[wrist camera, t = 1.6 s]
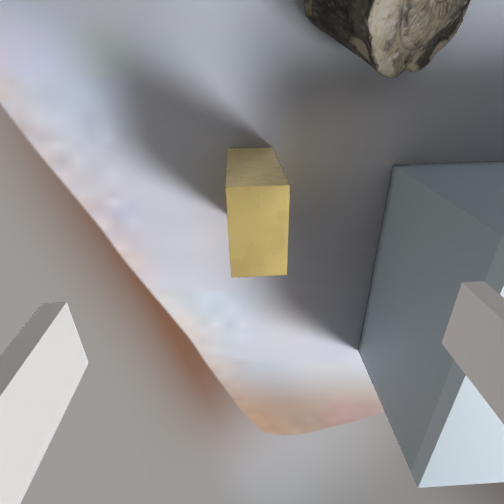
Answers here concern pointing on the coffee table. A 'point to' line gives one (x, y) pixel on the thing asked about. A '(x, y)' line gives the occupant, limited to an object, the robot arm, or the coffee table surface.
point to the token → (257, 212)
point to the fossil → (390, 29)
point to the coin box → (435, 317)
